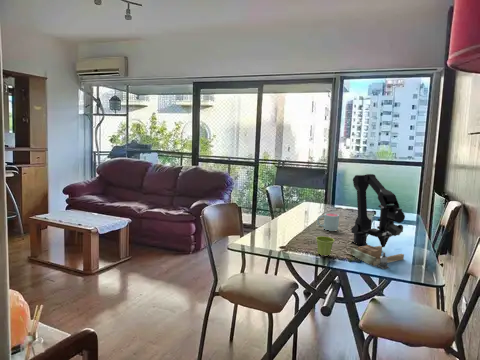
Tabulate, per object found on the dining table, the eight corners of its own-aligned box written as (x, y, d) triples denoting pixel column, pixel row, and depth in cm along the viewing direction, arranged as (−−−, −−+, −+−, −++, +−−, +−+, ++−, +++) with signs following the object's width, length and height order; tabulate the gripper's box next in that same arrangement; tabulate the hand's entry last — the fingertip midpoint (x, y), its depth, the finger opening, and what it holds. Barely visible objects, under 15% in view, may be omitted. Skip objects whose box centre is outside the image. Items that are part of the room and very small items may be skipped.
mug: (336, 228, 241) (337, 213, 239) (339, 232, 232) (340, 216, 230) (315, 226, 242) (316, 212, 241) (317, 230, 233) (318, 215, 231)
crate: (357, 257, 187) (358, 246, 186) (368, 255, 190) (369, 244, 190) (369, 262, 180) (370, 251, 179) (380, 260, 184) (381, 249, 183)
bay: (350, 255, 189) (350, 248, 188) (379, 250, 200) (380, 243, 199) (373, 265, 176) (374, 258, 176) (403, 259, 187) (404, 251, 186)
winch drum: (376, 266, 176) (378, 252, 175) (382, 265, 178) (383, 250, 177) (383, 269, 172) (384, 254, 171) (389, 268, 174) (390, 253, 173)
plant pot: (330, 252, 194) (331, 236, 192) (335, 258, 184) (336, 242, 183) (312, 251, 193) (313, 235, 192) (317, 258, 184) (318, 241, 183)
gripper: (386, 223, 175) (383, 254, 177) (411, 219, 184) (408, 249, 186) (368, 217, 185) (365, 247, 187) (393, 214, 194) (390, 243, 196)
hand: (383, 247), depth 189 cm, fingers closed
